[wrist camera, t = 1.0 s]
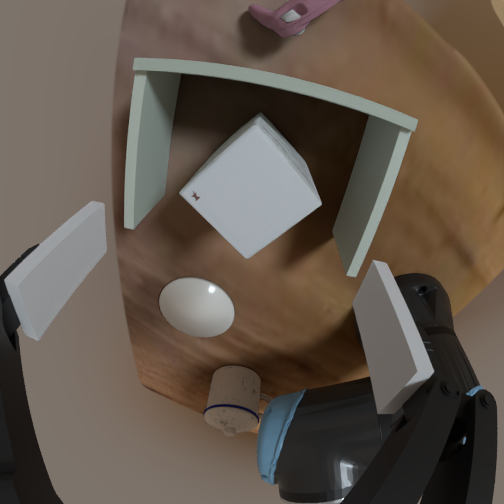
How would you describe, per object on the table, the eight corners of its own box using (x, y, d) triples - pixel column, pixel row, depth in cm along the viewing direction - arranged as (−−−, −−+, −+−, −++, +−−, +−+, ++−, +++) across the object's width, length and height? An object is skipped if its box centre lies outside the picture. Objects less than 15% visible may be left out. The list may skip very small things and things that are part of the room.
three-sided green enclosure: (174, 64, 26) (134, 58, 18) (379, 109, 27) (418, 120, 19) (157, 193, 34) (121, 230, 26) (339, 233, 35) (357, 281, 27)
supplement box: (255, 202, 34) (244, 263, 23) (210, 153, 31) (174, 193, 20) (308, 162, 31) (325, 206, 20) (262, 109, 28) (254, 121, 18)
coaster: (250, 312, 42) (250, 315, 42) (201, 343, 46) (200, 346, 46) (191, 262, 39) (190, 264, 38) (146, 302, 43) (145, 304, 42)
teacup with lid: (208, 385, 53) (197, 438, 43) (216, 358, 48) (203, 417, 38) (269, 398, 54) (266, 450, 44) (284, 372, 49) (283, 431, 39)
